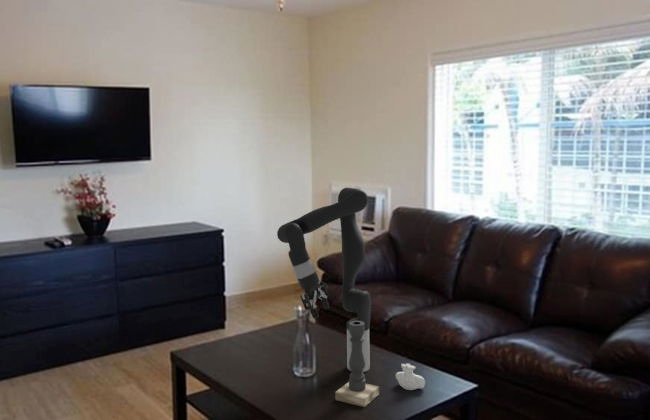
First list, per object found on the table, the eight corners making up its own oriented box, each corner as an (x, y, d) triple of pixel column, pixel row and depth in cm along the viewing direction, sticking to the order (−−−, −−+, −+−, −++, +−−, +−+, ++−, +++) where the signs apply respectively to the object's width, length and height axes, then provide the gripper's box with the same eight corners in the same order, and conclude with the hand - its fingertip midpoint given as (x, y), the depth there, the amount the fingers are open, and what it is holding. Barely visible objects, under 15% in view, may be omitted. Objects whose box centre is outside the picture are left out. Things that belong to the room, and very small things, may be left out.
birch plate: (350, 387, 228) (350, 380, 228) (379, 394, 222) (379, 386, 222) (335, 399, 218) (335, 392, 218) (364, 407, 212) (364, 399, 212)
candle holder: (351, 392, 217) (351, 326, 214) (346, 385, 223) (346, 321, 220) (367, 390, 219) (367, 324, 215) (362, 383, 225) (362, 319, 221)
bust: (395, 390, 230) (387, 375, 223) (401, 373, 235) (393, 357, 228) (424, 397, 224) (416, 381, 217) (430, 379, 228) (423, 363, 221)
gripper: (307, 269, 229) (323, 307, 231) (288, 282, 217) (304, 323, 219) (323, 265, 225) (338, 304, 227) (304, 278, 213) (320, 319, 215)
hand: (322, 313), depth 223 cm, fingers open, 8 cm apart
